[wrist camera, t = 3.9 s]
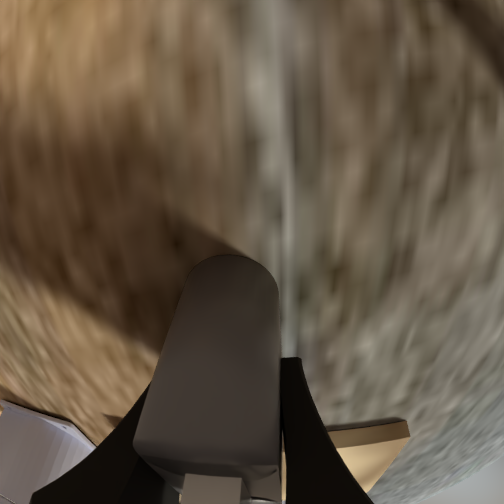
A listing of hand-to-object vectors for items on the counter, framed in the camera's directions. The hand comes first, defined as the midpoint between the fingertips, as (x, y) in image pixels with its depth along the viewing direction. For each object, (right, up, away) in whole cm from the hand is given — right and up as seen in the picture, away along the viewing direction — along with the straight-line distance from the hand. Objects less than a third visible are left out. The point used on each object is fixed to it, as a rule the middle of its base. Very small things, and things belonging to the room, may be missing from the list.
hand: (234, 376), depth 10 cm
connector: (0, +1, +2) cm, 2 cm away
